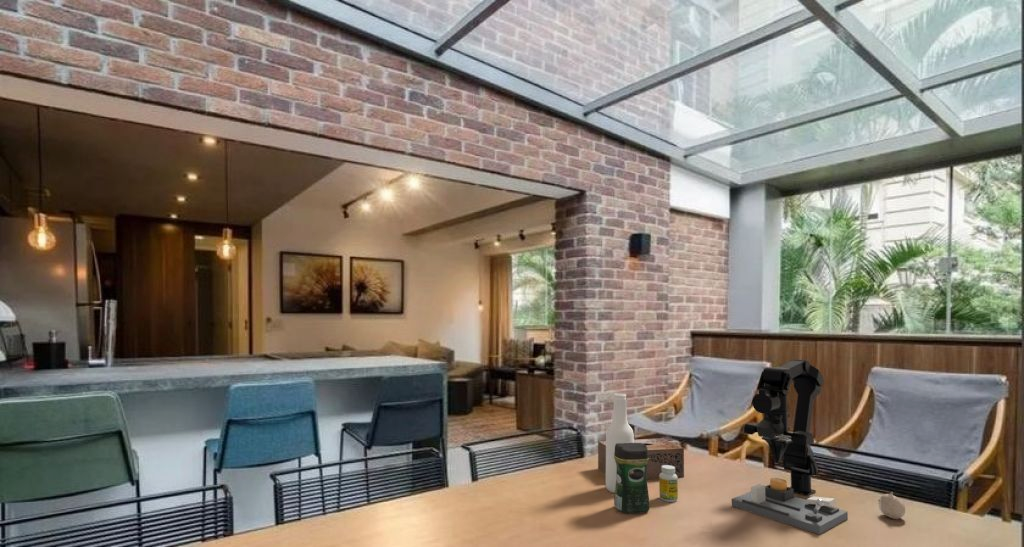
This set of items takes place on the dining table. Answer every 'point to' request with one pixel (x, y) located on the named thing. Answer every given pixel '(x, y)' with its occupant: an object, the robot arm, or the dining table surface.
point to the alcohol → (616, 438)
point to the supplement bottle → (668, 484)
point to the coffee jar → (631, 478)
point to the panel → (792, 510)
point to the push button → (778, 484)
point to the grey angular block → (758, 493)
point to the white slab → (826, 500)
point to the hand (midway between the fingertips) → (777, 462)
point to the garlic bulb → (891, 506)
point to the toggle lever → (818, 505)
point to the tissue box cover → (652, 456)
